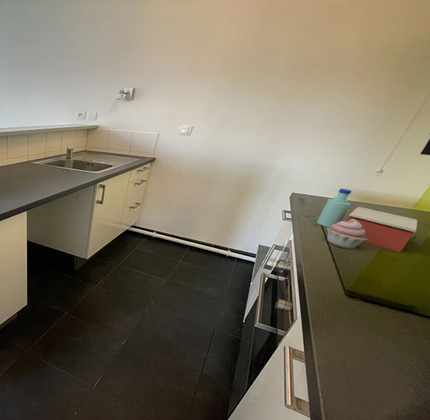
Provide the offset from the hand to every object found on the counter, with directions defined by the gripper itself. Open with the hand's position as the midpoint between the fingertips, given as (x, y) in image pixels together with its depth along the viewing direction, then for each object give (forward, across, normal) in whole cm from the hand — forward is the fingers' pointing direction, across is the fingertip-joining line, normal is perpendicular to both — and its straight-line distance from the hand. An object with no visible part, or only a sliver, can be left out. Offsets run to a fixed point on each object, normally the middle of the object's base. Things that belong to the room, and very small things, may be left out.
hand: (426, 154), depth 85 cm
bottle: (+30, -14, +12) cm, 36 cm away
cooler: (+30, -13, +1) cm, 33 cm away
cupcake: (+31, -32, +6) cm, 45 cm away
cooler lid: (+22, -14, +1) cm, 26 cm away
